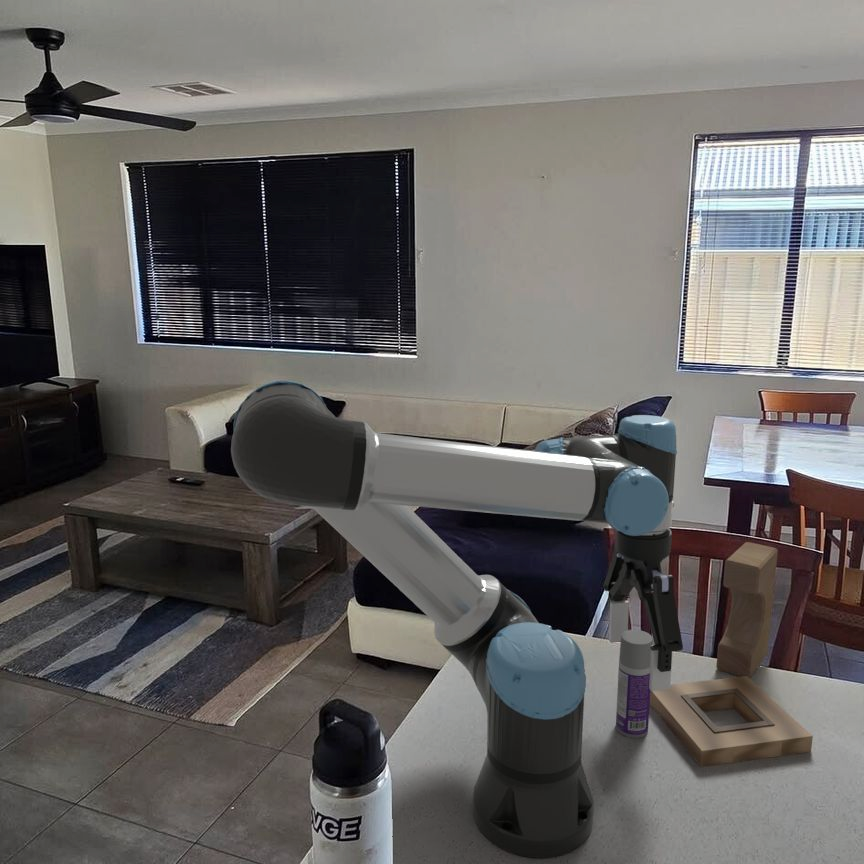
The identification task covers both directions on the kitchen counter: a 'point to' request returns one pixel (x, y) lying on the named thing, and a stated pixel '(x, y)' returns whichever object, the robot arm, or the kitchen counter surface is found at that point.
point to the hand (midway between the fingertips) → (637, 663)
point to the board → (733, 743)
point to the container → (634, 684)
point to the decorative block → (748, 608)
